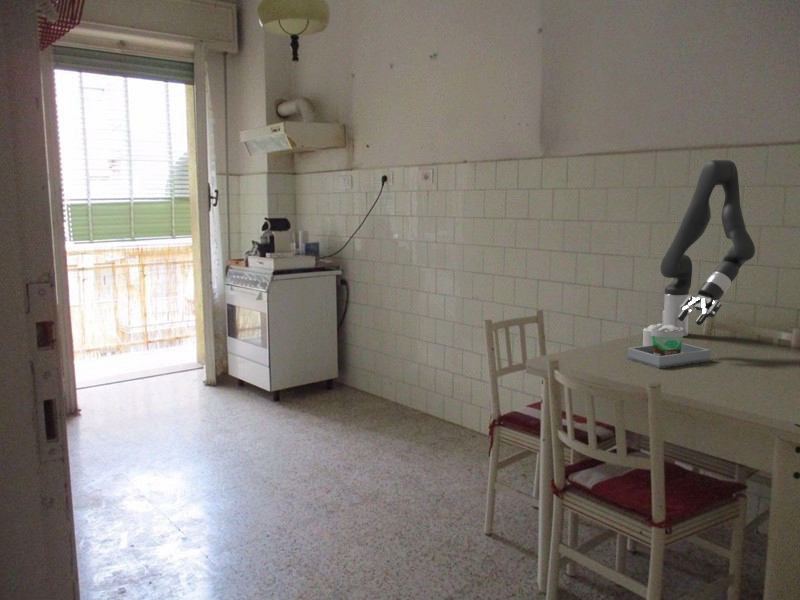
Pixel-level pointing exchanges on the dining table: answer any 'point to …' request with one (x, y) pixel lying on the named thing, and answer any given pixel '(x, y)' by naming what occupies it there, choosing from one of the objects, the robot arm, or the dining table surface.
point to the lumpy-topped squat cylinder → (659, 327)
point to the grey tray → (669, 356)
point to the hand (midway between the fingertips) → (688, 321)
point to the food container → (667, 341)
